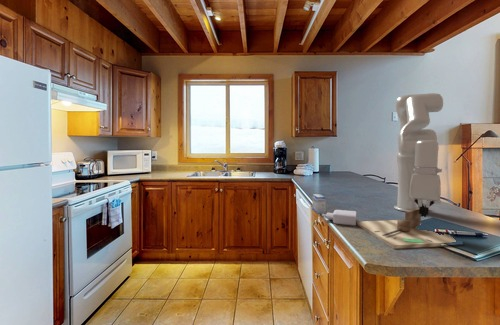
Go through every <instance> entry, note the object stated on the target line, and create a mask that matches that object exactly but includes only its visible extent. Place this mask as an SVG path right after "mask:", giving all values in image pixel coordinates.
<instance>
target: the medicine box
mask: <svg viewBox="0 0 500 325" xmlns="http://www.w3.org/2000/svg"><path fill="white" fill-rule="evenodd" d="M311 202H312V204H311V205H312V206H311V207H312V212H315V214H317V215H322V214H326V204H327V201H326V197H325V196H324V195H322V194H321V193H320V194H319V193H314V194H312V201H311Z"/></svg>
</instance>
